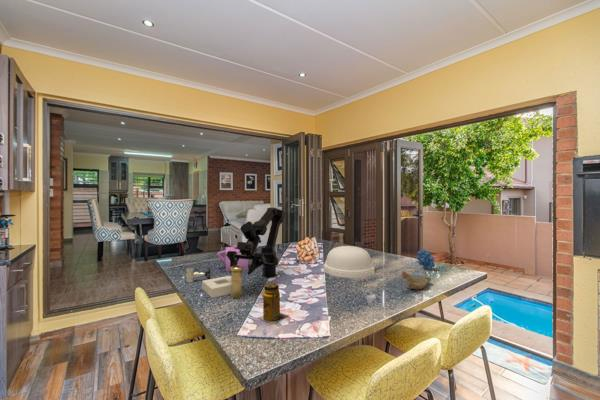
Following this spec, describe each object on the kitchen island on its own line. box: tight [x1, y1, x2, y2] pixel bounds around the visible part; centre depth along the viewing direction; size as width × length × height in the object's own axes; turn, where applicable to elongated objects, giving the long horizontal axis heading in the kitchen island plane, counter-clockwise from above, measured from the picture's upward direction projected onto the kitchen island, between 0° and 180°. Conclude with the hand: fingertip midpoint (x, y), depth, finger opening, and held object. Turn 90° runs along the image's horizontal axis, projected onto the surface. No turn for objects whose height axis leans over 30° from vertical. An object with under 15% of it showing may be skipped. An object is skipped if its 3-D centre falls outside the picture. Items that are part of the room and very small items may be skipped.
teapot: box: [216, 244, 259, 273], centre depth 168 cm, size 15×25×14 cm, turn 105°
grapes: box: [416, 248, 436, 271], centre depth 164 cm, size 12×7×12 cm, turn 32°
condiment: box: [258, 283, 289, 325], centre depth 100 cm, size 7×8×12 cm
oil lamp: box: [401, 270, 432, 290], centre depth 132 cm, size 9×21×10 cm, turn 123°
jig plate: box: [201, 275, 231, 299], centre depth 128 cm, size 14×14×4 cm
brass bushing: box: [230, 266, 244, 299], centre depth 120 cm, size 5×5×13 cm
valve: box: [185, 266, 211, 283], centre depth 143 cm, size 7×7×12 cm
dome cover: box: [323, 245, 376, 279], centre depth 163 cm, size 32×30×14 cm
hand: (239, 273), depth 122 cm, fingers open, 9 cm apart
